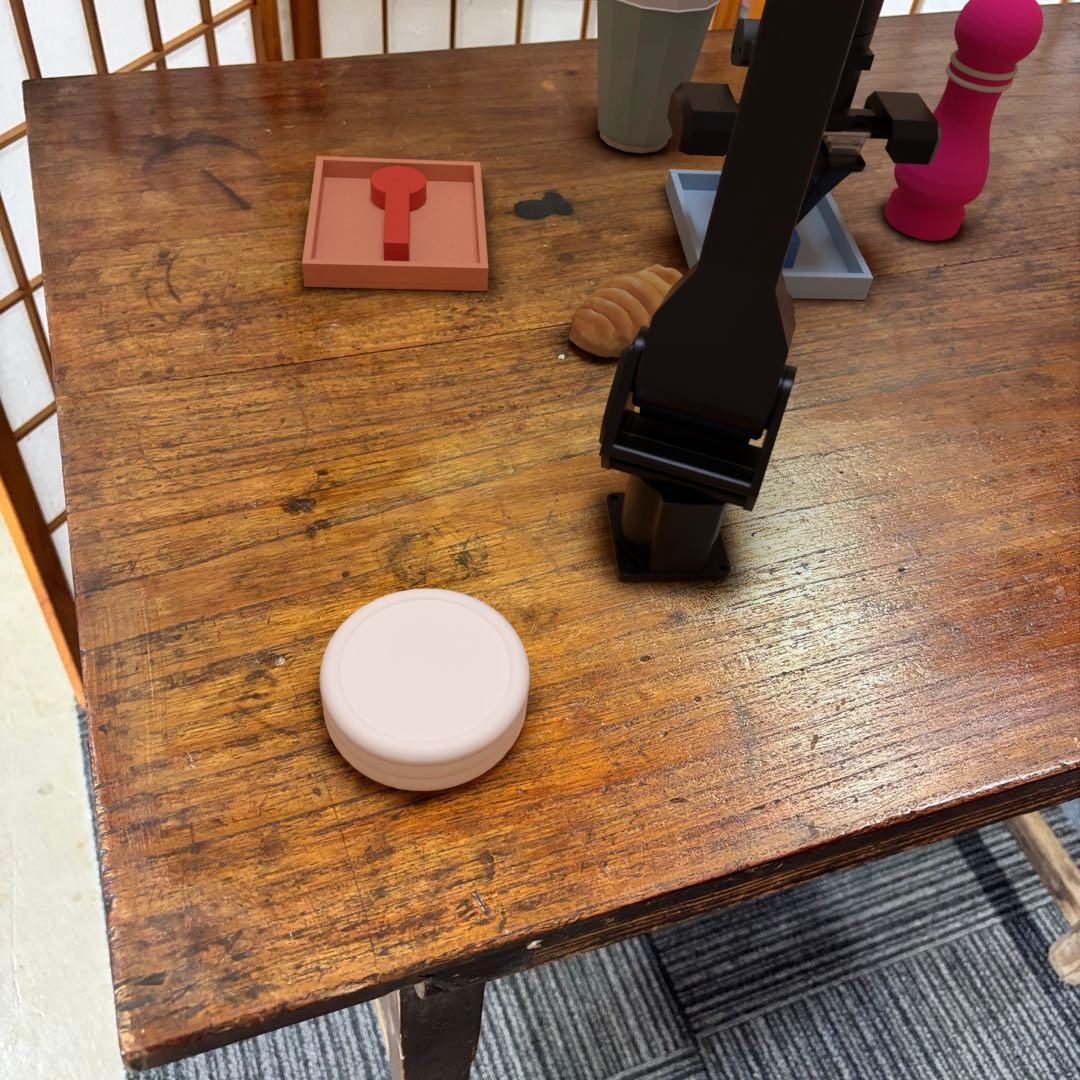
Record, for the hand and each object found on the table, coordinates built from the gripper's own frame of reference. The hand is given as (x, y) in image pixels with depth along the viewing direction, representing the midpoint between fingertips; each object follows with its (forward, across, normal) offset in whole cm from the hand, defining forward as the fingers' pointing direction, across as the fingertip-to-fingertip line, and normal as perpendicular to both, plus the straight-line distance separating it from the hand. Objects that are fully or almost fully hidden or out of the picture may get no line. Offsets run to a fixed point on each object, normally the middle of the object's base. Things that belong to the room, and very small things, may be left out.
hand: (773, 229), depth 79 cm
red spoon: (+2, +29, -2) cm, 29 cm away
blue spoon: (+1, 0, -2) cm, 3 cm away
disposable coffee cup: (+3, +8, -19) cm, 21 cm away
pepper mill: (+3, -15, -6) cm, 16 cm away
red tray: (+2, +29, -2) cm, 29 cm away
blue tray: (+2, 0, -2) cm, 3 cm away
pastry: (+3, +12, +10) cm, 16 cm away
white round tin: (+3, +27, +41) cm, 49 cm away
